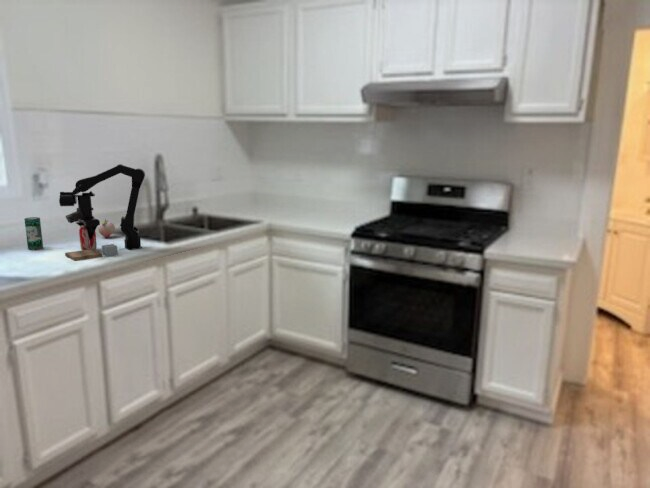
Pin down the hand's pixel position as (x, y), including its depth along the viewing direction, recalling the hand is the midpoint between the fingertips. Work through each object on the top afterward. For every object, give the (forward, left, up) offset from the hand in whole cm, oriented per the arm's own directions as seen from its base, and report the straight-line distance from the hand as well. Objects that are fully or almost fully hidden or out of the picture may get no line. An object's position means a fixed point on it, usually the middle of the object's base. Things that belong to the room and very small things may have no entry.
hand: (87, 238), depth 232 cm
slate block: (-4, +16, -6) cm, 18 cm away
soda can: (0, 0, -6) cm, 6 cm away
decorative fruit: (-18, -25, -6) cm, 31 cm away
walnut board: (+6, +11, -6) cm, 14 cm away
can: (+18, -20, -6) cm, 28 cm away
